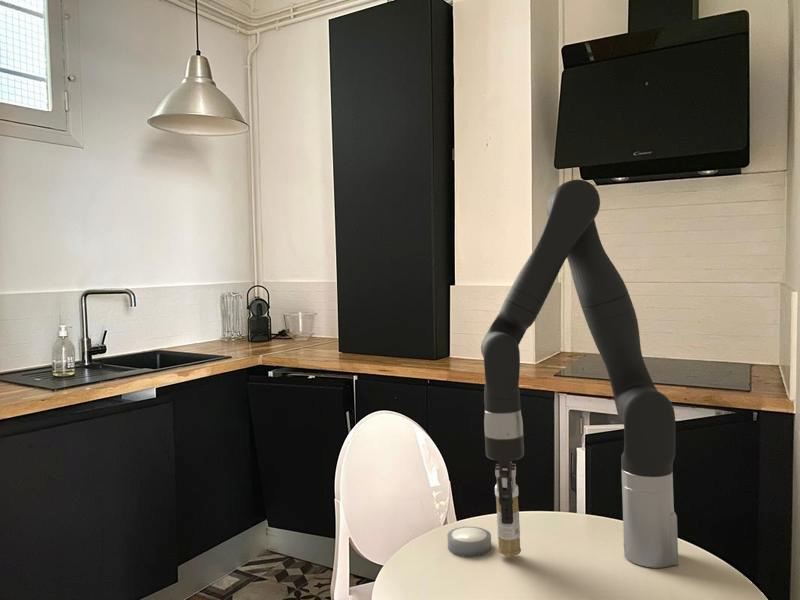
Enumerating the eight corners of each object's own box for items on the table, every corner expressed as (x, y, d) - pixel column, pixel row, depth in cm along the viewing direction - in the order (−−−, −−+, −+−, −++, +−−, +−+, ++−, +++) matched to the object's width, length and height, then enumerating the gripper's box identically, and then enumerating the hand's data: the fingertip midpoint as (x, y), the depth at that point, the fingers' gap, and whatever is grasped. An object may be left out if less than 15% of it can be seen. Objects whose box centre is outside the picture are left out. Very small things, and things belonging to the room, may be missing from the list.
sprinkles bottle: (508, 545, 124) (505, 479, 124) (526, 551, 121) (522, 484, 121) (493, 552, 122) (489, 485, 121) (510, 559, 118) (507, 490, 118)
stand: (492, 539, 130) (492, 526, 130) (490, 557, 122) (489, 544, 122) (450, 537, 132) (450, 525, 132) (445, 555, 123) (444, 542, 123)
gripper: (523, 442, 113) (527, 533, 113) (523, 424, 127) (527, 505, 127) (482, 442, 115) (486, 532, 115) (486, 424, 129) (490, 505, 129)
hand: (507, 518), depth 121 cm, fingers closed on sprinkles bottle, 4 cm apart
